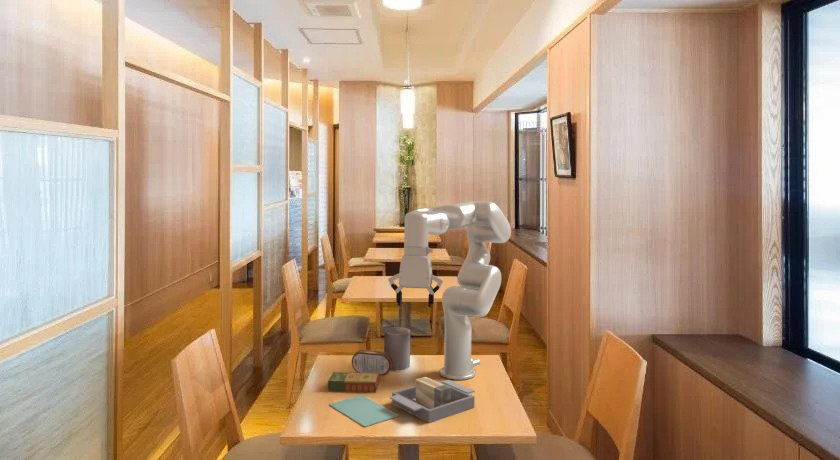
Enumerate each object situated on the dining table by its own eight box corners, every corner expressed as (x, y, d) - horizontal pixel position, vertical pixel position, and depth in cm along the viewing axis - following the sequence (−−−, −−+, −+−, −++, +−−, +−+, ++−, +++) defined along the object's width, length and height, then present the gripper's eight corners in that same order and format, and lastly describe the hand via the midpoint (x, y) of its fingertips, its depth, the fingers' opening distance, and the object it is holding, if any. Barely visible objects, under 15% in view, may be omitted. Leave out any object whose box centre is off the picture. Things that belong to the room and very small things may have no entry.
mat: (361, 395, 184) (361, 394, 183) (399, 416, 168) (399, 415, 168) (329, 405, 176) (329, 404, 176) (364, 427, 160) (364, 426, 160)
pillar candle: (382, 363, 216) (381, 324, 214) (407, 361, 218) (407, 322, 216) (386, 371, 206) (386, 331, 205) (412, 369, 209) (413, 329, 207)
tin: (393, 374, 204) (393, 351, 203) (390, 377, 201) (390, 354, 200) (353, 370, 207) (353, 348, 206) (350, 373, 204) (350, 350, 203)
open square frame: (442, 388, 191) (443, 377, 190) (481, 405, 177) (481, 393, 176) (384, 405, 176) (384, 394, 175) (420, 425, 162) (420, 413, 161)
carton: (375, 393, 186) (375, 381, 186) (327, 392, 187) (327, 380, 187) (379, 384, 195) (379, 372, 194) (332, 383, 195) (332, 371, 195)
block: (425, 398, 182) (425, 376, 181) (450, 410, 173) (450, 387, 172) (415, 401, 180) (415, 379, 179) (440, 413, 170) (440, 390, 170)
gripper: (444, 251, 181) (443, 304, 183) (391, 249, 184) (390, 302, 185) (442, 254, 174) (440, 309, 175) (386, 252, 176) (385, 306, 178)
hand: (414, 305), depth 180 cm, fingers open, 9 cm apart
